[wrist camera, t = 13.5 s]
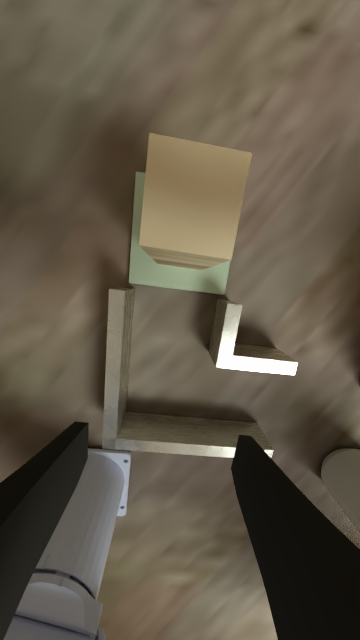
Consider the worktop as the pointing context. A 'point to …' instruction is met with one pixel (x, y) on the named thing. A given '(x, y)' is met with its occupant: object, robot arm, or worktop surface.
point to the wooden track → (179, 430)
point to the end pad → (163, 275)
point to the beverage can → (344, 480)
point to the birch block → (191, 202)
